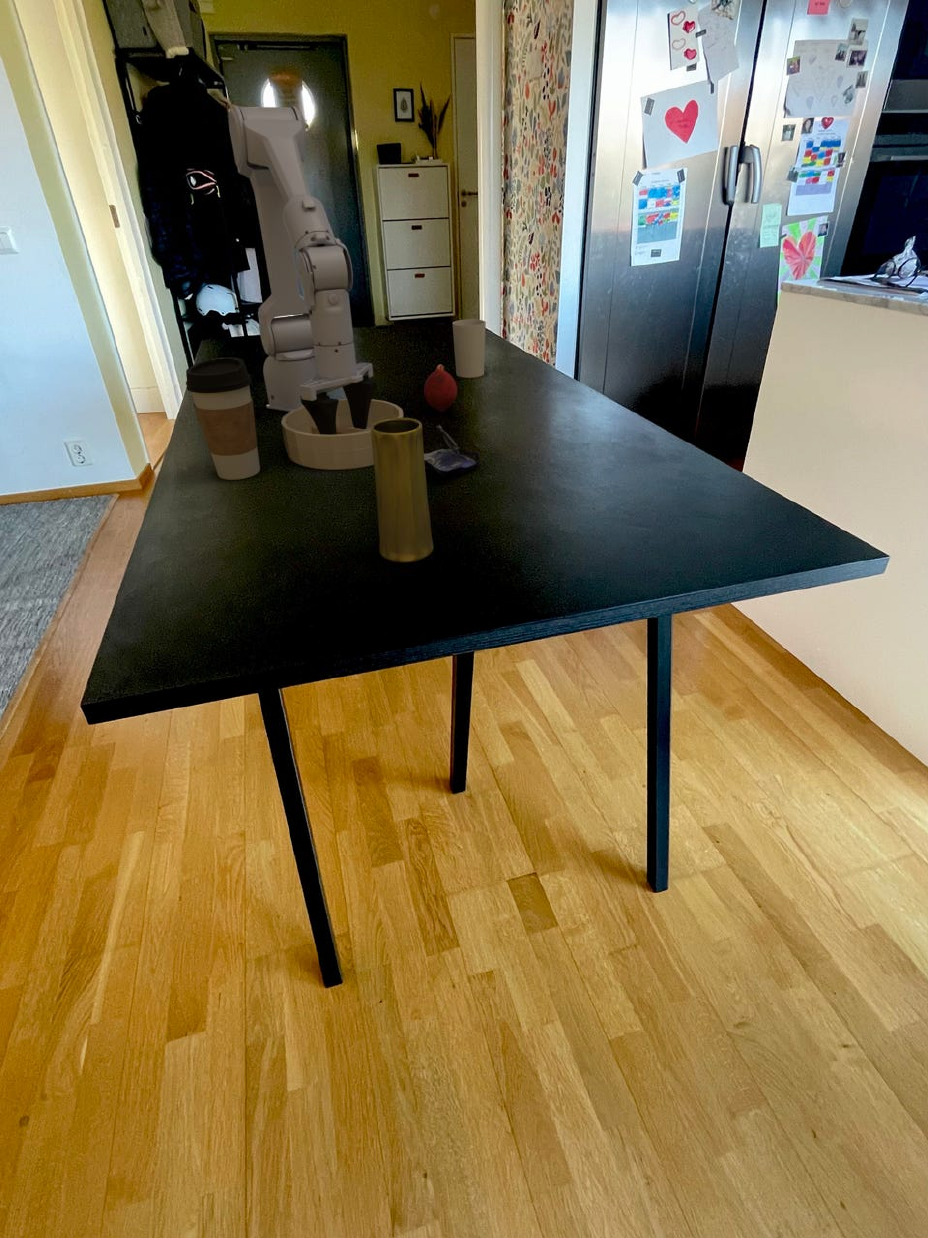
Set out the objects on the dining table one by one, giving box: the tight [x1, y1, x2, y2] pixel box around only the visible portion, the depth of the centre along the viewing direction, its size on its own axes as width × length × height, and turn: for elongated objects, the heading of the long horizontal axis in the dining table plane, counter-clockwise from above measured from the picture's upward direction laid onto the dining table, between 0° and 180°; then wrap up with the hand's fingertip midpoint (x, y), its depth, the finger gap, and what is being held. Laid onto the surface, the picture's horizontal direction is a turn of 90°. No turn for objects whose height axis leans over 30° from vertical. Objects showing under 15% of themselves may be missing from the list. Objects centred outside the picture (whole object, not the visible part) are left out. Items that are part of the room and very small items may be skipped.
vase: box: [371, 417, 435, 564], centre depth 71 cm, size 6×6×14 cm
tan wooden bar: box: [311, 425, 364, 434], centre depth 102 cm, size 12×2×2 cm, turn 61°
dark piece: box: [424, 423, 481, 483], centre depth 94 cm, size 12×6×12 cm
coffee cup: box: [185, 356, 261, 481], centre depth 92 cm, size 8×8×15 cm
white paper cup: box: [452, 318, 487, 379], centre depth 136 cm, size 7×7×10 cm
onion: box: [423, 364, 458, 413], centre depth 115 cm, size 6×6×8 cm
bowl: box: [280, 398, 405, 471], centre depth 102 cm, size 18×18×5 cm
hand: (345, 435), depth 102 cm, fingers open, 7 cm apart
